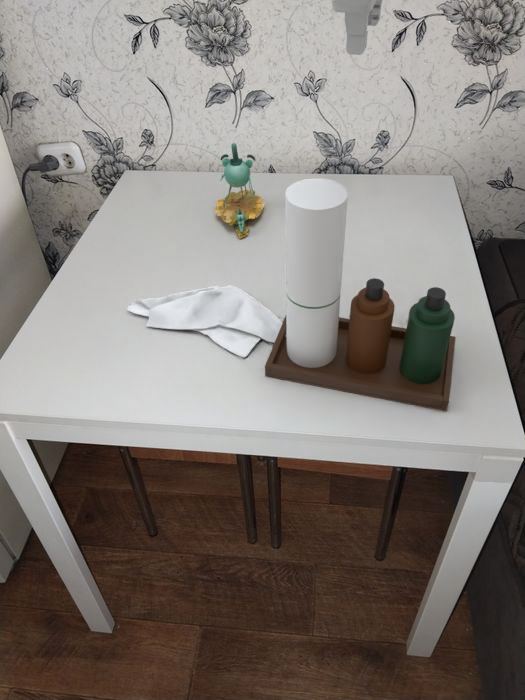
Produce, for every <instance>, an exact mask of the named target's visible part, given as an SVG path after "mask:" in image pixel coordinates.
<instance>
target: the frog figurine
mask: <svg viewBox="0 0 525 700" xmlns="http://www.w3.org/2000/svg"><path fill="white" fill-rule="evenodd" d="M230 146H231V154H232V158H230V157H229V154H223V155H222V156H221V157H220V161H221V164H222V166H223V167H224V171H223V172H224V174H221V178H220V182H221V181H223V179H224V180H225V182H226V183H227V184H228V185H229V189H228V194H227V195H226V196H224V197H222V199H221V198H220V199H217V202H216V203H215V207H216V208H215V211H214V213H215V214H216V216H218V217H220V218H221V219H222V220H223V222H225V223H226V224H228V226H233V225H236V226H234V227H233V230H235V232H236V234H237V236H238V238H239V239H244V238H245V237H247V236H248V235H249V233H248V232H249V231H250V229H251V228H250V227H249V226H247V225H246V223H245V222H246V221H248V220H254V219H257V218H258V217H259V216H260V215H261V213H262V212H263V210H264V207H265V206H266V202H265V201H264V200H263V198H262V196H260V195H258V194H256V190H254V189H253V187H252V186H253V185H252V181H251V170H250V169H251V168H253V163H254V162H255V161H256V158H255V156H254V155H252V154H247V155H246V158H247V160H246V161H244V160H243V158H242V157H240V158H239V153H238V145H237V143H235V142H233V143H231V144H230ZM251 159H252V160H251ZM247 184H248V188H249V189H247V187H246V185H247ZM242 187H244V189H243V188H242ZM232 188H239V189H240V190H239V191H237V192H235V191H231V190H232Z"/></svg>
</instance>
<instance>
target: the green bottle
mask: <svg viewBox="0 0 525 700" xmlns="http://www.w3.org/2000/svg"><path fill="white" fill-rule="evenodd" d="M446 296H447V293H446V290H445V289H444V288H441V287H436V286H435V287H430V288H428V290H427V293H426V295H425V296H423V297H421V298H419V299H418V301H417V302H416V303H414V304H413V305H412V306H411V307H410V308H409V312H408V317H407V321H406V327H405V328H406V333H405V339H404V344H403V350H402V355H401V361H400V372H401V374H402V375H403V376H404V377H405V378H406V379H408V380H409V381H411V382H414V383H418V384H429V383H432V382H434V381H436V380H437V379H438V378H439V377H440V375H441V371H442V367H443V363H444V359H445V355H446V351H447V347H448V343H449V339H450V336H452V331H453V327H454V323H455V319H456V316H455V312H454V311H453V310H452V308H451V304H450V303H449V301H448V300H446Z"/></svg>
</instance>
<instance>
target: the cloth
mask: <svg viewBox="0 0 525 700" xmlns="http://www.w3.org/2000/svg"><path fill="white" fill-rule="evenodd" d="M126 310H127V311H128V312H130V313H132V314H134V315H139V316H142V317H148V320H147V323H146V327H148V328H155V329H163V330H191V331H196V332H199V333H201V334H203V335H205V336H206V335H207V336H208V337H209V338H210V340H212V341H213V342H214V343H215V344H217V345H218V346H220V347H221V348H223V349H225V350H227V351H229V352H230V353H232V354H235V355H237V356H239V357H241V358H243V359H244V358H247V357H248V356H249V354H250V353H251V352H252V350H253V349H254V347H255V346H257V344H258V343H259V342H260V341H261V340H263V341H265V342H267V343H272V344H274V343H275V340H276V338H277V336H278V333H279V331H280V328H281V326H282V323H283V321H284V320H282V319H280V318H279V317H278V316H277V315H276V314H274V313H273V311H271V310H270V309H269V308H268V307H266V306H265V305H264V304H262V303H261V302H260V301H259V300H258V299H256V298H255V297H254V296H251V295H250V294H248V292H246V291H245V290H243V289H242V288H240V287H237V286H235V285H232V284H227V285H225V286H219V285H212V286H207V287H203V288H198V289H193V290H186V291H185V290H184V291H180V292H174V293H171V294H167V295H165V296H161V297H148V298H141V299H139V298H136V299H134V300H133V301H132V302H131V303H130V304H129V305H128V306H127V309H126ZM286 337H287V334H286Z"/></svg>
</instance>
